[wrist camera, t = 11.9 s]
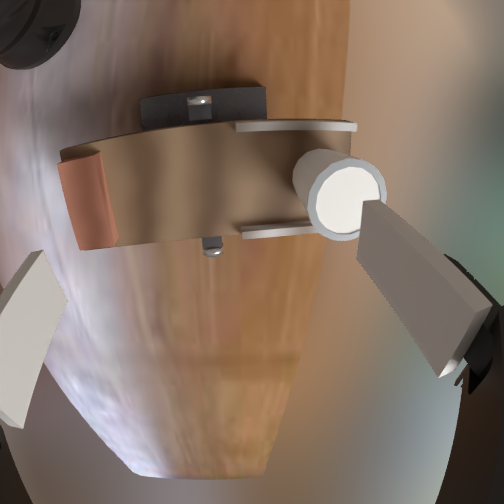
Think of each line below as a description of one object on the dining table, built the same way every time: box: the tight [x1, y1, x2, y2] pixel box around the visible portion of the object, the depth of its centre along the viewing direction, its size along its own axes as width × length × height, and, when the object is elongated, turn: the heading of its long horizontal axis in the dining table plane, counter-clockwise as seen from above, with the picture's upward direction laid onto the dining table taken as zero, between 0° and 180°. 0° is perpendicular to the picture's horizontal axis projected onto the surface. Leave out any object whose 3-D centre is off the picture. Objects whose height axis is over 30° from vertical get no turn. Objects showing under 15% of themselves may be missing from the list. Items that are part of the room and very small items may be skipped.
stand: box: [139, 87, 267, 257], centre depth 32 cm, size 16×18×13 cm
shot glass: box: [292, 149, 387, 241], centre depth 24 cm, size 7×7×7 cm
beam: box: [57, 119, 357, 250], centre depth 27 cm, size 28×11×4 cm, turn 92°
